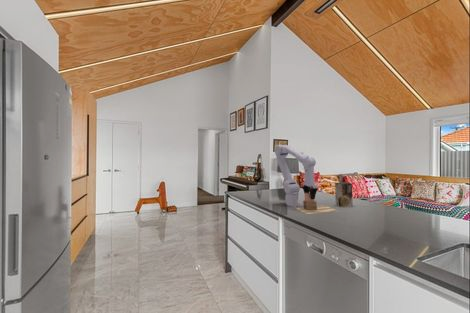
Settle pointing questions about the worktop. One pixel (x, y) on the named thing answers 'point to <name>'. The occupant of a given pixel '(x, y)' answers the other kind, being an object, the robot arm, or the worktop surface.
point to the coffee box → (343, 194)
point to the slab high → (309, 203)
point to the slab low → (310, 207)
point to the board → (319, 210)
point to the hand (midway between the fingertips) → (309, 198)
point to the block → (308, 198)
